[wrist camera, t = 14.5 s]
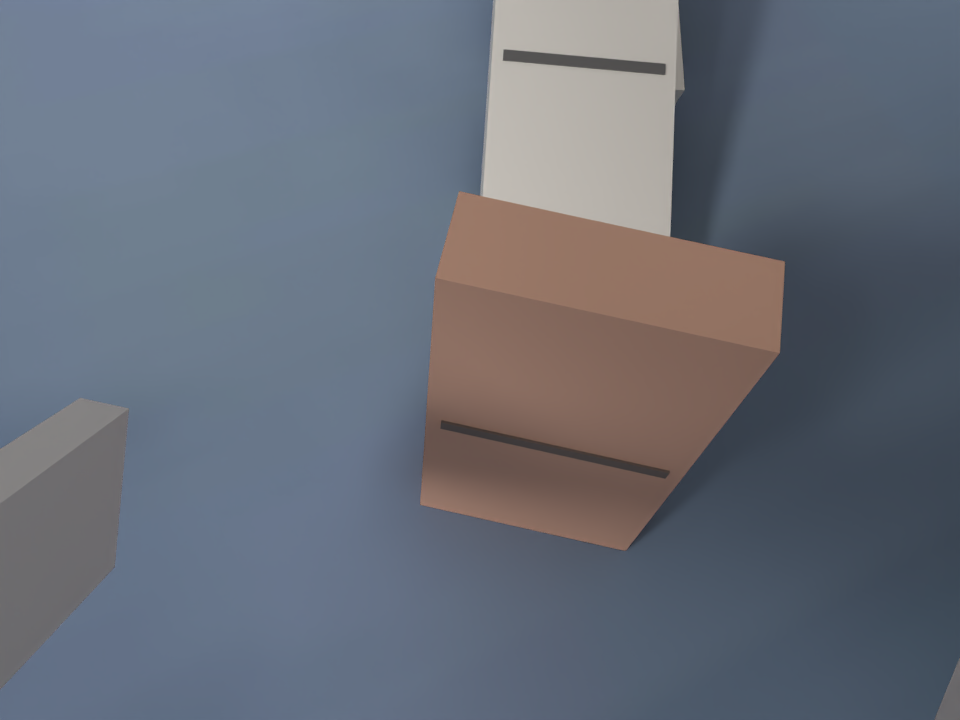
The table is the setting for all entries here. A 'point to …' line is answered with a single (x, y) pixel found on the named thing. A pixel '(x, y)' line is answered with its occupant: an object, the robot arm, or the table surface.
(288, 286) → the table surface
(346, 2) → the table surface
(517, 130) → the domino
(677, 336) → the domino
